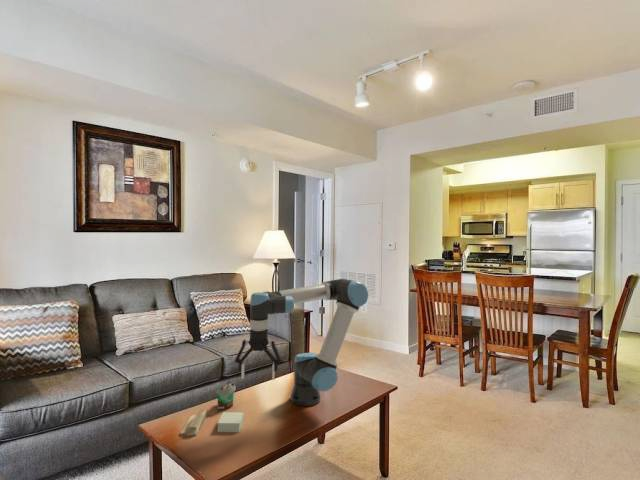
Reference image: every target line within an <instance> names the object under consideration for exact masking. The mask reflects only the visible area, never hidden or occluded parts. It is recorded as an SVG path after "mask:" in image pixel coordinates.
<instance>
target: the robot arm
mask: <svg viewBox="0 0 640 480" xmlns="http://www.w3.org/2000/svg"><path fill="white" fill-rule="evenodd" d="M319 300H320V301H321V300H324V301H335V304H336V306H337V308H336V310H335V312H334V315H333V317H332V320H331V322H330V325H329V328H328V330H327V333H326V335H325V338H324V340H323V343H322V346H321V348H320V351H319V353H316V352H303V353H298V354H296V355H295V357H294V362H293V363H294V373H293V374H294V377H293V379H294V380H293V381H294V382H293V386H292V389H291V393H290V401H291V403H292V404H294V405H296V406H301V407H311V406H314V405H317V404H320V402H321V398H322V397H321V392H323V393H324V392H329V391H330V390H332V389H333V388H335V386H336V385H337V382H338V379H339V376H338V372H337V368H338V362H337V358H338V356H339V353H340V352H341V349H342V345H343V343H344V339H345V338H346V335H347V332H348V330H349V327H350V325H351V322H352V319H353V318H354V314H356V313H357V312H359V309H360V307H363V306H364V305H365V304H366V303H367V301H368V300H369V291H368V288H367V286H366V285H365V283H363V282H360V281H358V280H353V279H346V278H338V279H331V280H326V281H323V282H321V283H320V284H313V285H309V286H302V287H301V286H300V287H295V288H289V289H282V290H278V291H277V290H276V291H263V292H253V293H252V294H251V296H250V304H249V305H250V314H249V315H250V317H249V319H250V320H249V327H250V330H249V340H247V339H245V338H244V339H243V340H242V341H241V347H240V348H239V351H238V352H237V355H236V357H235V359H234V363H238V371H239V372H240V373H241V375H240V377H241V379H240V380H244V378H245V362H244V361H245V359H246V358H247V357H249V355H250V354H251V352H253V351H254V352H258V351H259V352H264V353H265V354H266V355H267V357H268V358H269V359H270V360H271V361H272V369H271V370H272V371H271V372H272V373H271V375H272V377H271V378H272V380H275V374H276V372H277V371H278V364H281V363H282V356H281V355H280V353H279V351H278V348H277V345H276V340H275V339H272V340H269V339H268V338H269V337H268V333H269V330H268V328H269V325H268V323H269V321H268V320H269V315H277V314H278V315H279V314H287V313H292V312H293V310H294V308H295V305H296V304H297V305H298V304H303V303H308V302H315V301H319ZM268 344H269V346H271V348H272V351H273V353H274V355H273V353H272V352H271V350H270V349H269V347H268ZM247 345H249V346H250V348H249V349H248V350H247V351H246V352H245V353H244V355H243V356H242V354H243V351H244V349H245V347H246V346H247ZM241 356H242V357H241Z"/></svg>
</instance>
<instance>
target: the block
mask: <svg viewBox="0 0 640 480" xmlns="http://www.w3.org/2000/svg"><path fill="white" fill-rule="evenodd" d="M244 415H245V414H244V412H239V411H238V412H234V411H233V412H229V411H228V412H225V411H224V412H222V415H221V416H220V418H219V420H218V422H217V433H240V431H241V428H242V425H243V423H244Z"/></svg>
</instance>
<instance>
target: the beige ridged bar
mask: <svg viewBox="0 0 640 480" xmlns="http://www.w3.org/2000/svg"><path fill="white" fill-rule="evenodd" d="M207 410H208V409H205V408H204V409H201V408H200V409H199V410H198V411H197V414H192V415H191V416H190V417H189V418H188V420H187V422H186V424H185V425H184V427H183V428H182V430H181V431H180V434H179V436H182V437H183V436H184V437H185V436H188V437H189V436H192V437H194V436H195V437H196V436H197V435H198V434H199V431H200V430H201V428H202V426H203V425H204V422H205V421H206V419H207V416H208V415H207V414H208V413H207V412H208V411H207Z"/></svg>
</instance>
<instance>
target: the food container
mask: <svg viewBox="0 0 640 480" xmlns="http://www.w3.org/2000/svg"><path fill="white" fill-rule="evenodd" d="M236 389H237V388H236V385H235V383H234V382H233V381H230V380H228V381H227V383H226V384H225V385H223V386H221V388H220V389H217V391H216V395H217V397H216V398H217V410H218V411H225V410H226V411H227V410H230V409H231V408H232V407H233V406H234V398H235V391H236Z"/></svg>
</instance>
